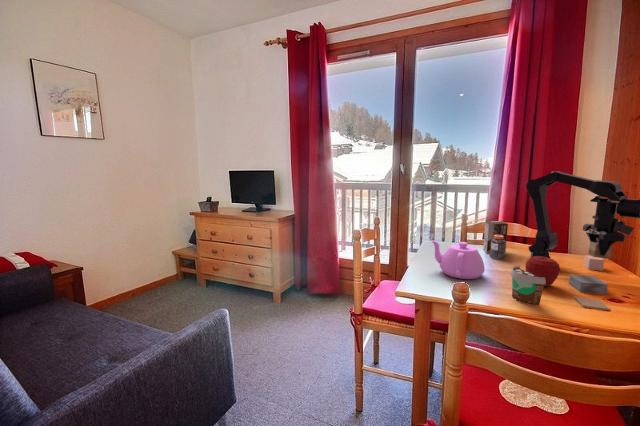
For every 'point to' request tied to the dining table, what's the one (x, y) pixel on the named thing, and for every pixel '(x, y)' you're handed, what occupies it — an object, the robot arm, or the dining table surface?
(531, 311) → the dining table surface
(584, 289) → the grey flat block
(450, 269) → the pink pot
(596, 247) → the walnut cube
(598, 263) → the pale pink cube
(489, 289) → the dining table surface
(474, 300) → the dining table surface
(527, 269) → the apple
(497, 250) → the pill bottle
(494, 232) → the coffee box
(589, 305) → the tile
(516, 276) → the food container
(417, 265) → the dining table surface
